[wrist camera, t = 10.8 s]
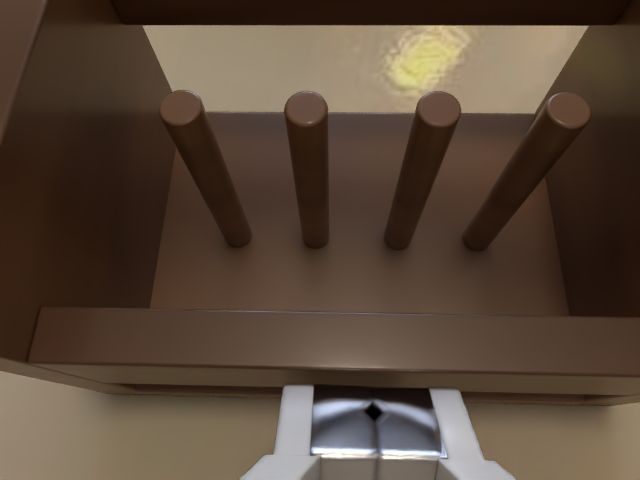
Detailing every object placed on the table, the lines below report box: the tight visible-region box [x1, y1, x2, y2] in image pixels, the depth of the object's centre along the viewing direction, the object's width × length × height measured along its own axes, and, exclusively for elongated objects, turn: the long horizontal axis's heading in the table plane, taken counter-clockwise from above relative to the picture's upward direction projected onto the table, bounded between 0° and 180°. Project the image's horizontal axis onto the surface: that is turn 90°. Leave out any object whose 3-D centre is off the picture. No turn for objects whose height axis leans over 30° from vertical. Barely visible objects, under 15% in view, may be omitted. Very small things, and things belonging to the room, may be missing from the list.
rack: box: [0, 0, 640, 406], centre depth 11 cm, size 9×14×8 cm, turn 89°
